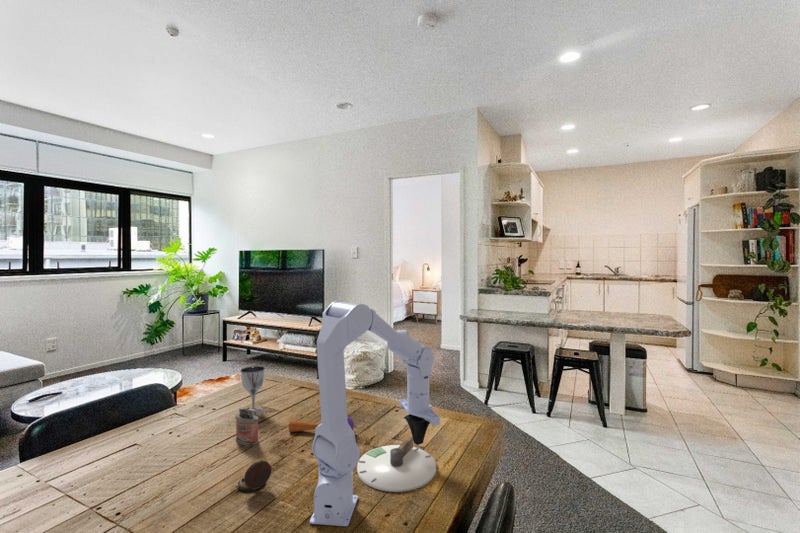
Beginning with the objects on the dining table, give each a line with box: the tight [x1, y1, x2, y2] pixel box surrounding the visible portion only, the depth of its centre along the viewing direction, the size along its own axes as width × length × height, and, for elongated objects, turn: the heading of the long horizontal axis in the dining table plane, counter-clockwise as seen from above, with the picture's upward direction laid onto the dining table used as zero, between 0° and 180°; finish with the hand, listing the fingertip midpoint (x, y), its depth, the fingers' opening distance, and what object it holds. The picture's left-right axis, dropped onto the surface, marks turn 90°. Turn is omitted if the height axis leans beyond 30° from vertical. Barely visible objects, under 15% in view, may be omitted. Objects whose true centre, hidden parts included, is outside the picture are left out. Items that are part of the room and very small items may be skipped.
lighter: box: [235, 406, 260, 447], centre depth 112 cm, size 8×3×10 cm, turn 62°
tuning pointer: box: [390, 435, 414, 466], centre depth 101 cm, size 11×3×3 cm, turn 153°
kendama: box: [288, 415, 355, 433], centre depth 117 cm, size 6×6×20 cm
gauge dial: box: [356, 444, 437, 493], centre depth 98 cm, size 20×20×1 cm
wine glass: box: [240, 365, 266, 416], centre depth 134 cm, size 8×8×15 cm
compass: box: [229, 459, 273, 492], centre depth 90 cm, size 8×8×7 cm
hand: (418, 443), depth 100 cm, fingers closed
